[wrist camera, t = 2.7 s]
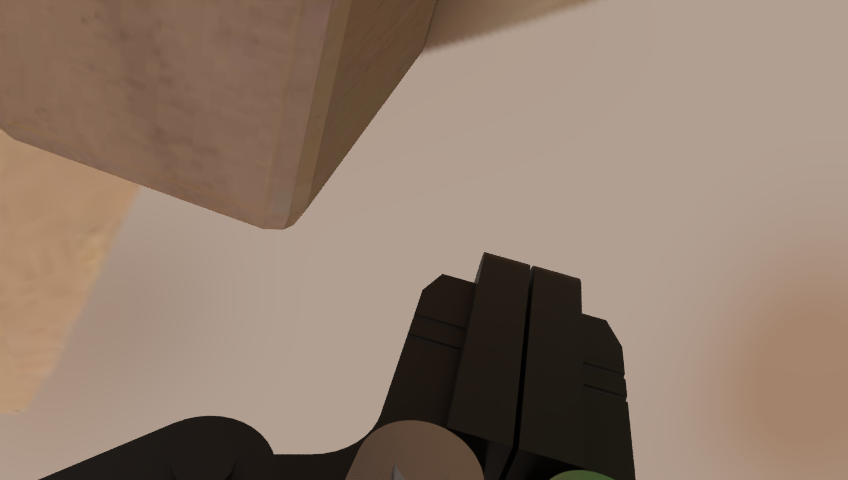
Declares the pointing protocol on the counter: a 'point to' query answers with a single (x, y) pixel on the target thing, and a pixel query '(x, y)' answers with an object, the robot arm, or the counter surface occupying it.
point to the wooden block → (206, 90)
